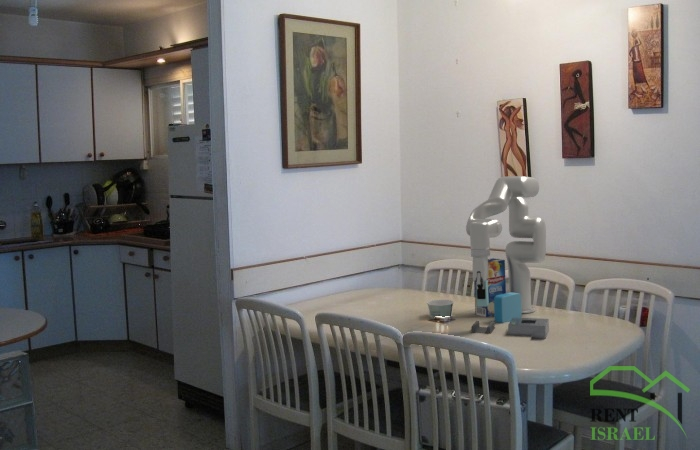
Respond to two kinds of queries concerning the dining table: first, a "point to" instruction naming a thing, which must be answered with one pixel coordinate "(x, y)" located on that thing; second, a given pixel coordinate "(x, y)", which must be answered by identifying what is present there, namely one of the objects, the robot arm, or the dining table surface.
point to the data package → (507, 307)
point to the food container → (440, 308)
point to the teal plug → (485, 301)
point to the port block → (529, 327)
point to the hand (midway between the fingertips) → (482, 297)
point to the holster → (483, 328)
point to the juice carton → (492, 286)
